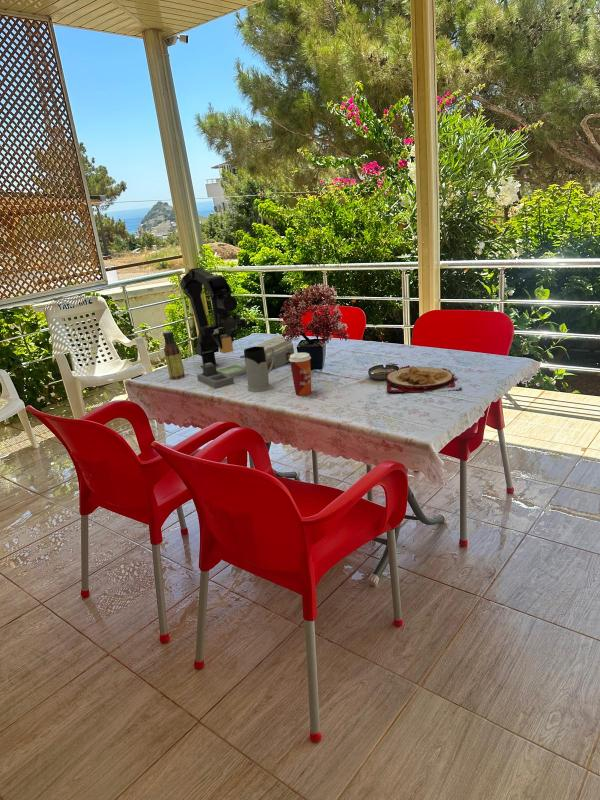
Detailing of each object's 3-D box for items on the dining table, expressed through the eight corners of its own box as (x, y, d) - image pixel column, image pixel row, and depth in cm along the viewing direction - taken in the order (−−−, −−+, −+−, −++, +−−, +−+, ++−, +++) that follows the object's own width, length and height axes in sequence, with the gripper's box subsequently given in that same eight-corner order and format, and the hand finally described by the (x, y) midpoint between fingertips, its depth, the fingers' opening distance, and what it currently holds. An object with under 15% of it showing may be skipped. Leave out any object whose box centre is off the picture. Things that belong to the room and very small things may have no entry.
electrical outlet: (305, 356, 240) (302, 334, 236) (259, 379, 222) (254, 356, 218) (286, 353, 248) (282, 332, 244) (239, 375, 229) (235, 353, 226)
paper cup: (307, 397, 191) (303, 358, 186) (288, 395, 195) (284, 357, 190) (318, 390, 197) (314, 352, 193) (300, 388, 201) (296, 351, 197)
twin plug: (204, 380, 222) (201, 363, 220) (213, 377, 224) (210, 361, 222) (208, 382, 219) (206, 365, 216) (217, 379, 221) (215, 363, 218)
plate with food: (387, 396, 187) (386, 386, 185) (385, 371, 211) (385, 362, 210) (462, 394, 183) (462, 383, 182) (452, 368, 207) (452, 359, 206)
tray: (214, 373, 231) (213, 369, 230) (237, 367, 237) (236, 363, 236) (226, 378, 222) (225, 374, 222) (250, 372, 228) (249, 368, 227)
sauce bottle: (188, 376, 231) (179, 329, 225) (179, 381, 226) (170, 333, 220) (175, 375, 234) (167, 329, 228) (166, 380, 229) (157, 333, 222)
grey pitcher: (242, 389, 207) (237, 351, 202) (268, 378, 216) (264, 341, 211) (259, 393, 201) (253, 353, 196) (285, 381, 211) (280, 343, 206)
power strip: (198, 381, 223) (196, 374, 222) (215, 376, 227) (214, 369, 226) (215, 389, 210) (214, 382, 209) (234, 384, 214) (233, 377, 213)
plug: (219, 352, 223) (217, 335, 221) (228, 349, 225) (226, 333, 223) (224, 353, 220) (221, 336, 218) (233, 351, 222) (230, 334, 220)
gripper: (207, 315, 206) (214, 356, 211) (250, 306, 216) (256, 345, 221) (195, 313, 215) (201, 352, 220) (236, 304, 224) (242, 341, 229)
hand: (226, 347), depth 222 cm, fingers closed on plug, 4 cm apart
